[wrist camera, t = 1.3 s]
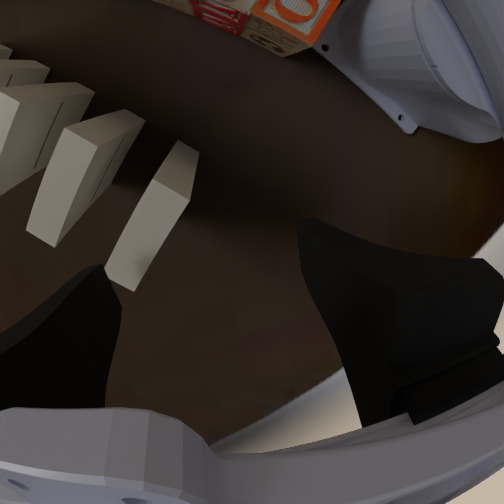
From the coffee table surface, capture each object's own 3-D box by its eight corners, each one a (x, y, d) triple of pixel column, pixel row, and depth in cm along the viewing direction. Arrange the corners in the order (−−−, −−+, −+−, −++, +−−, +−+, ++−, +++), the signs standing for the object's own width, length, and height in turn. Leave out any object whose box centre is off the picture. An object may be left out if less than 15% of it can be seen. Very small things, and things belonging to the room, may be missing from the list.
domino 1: (199, 153, 19) (190, 200, 12) (161, 213, 21) (134, 291, 13) (177, 139, 19) (151, 178, 11) (140, 201, 20) (101, 274, 13)
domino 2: (146, 120, 18) (98, 146, 10) (110, 184, 20) (55, 247, 12) (125, 108, 17) (63, 127, 10) (91, 172, 19) (25, 229, 11)
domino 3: (95, 92, 17) (20, 102, 9) (63, 156, 18) (-13, 205, 10) (76, 82, 16) (-6, 88, 8) (46, 145, 18) (-35, 189, 10)
